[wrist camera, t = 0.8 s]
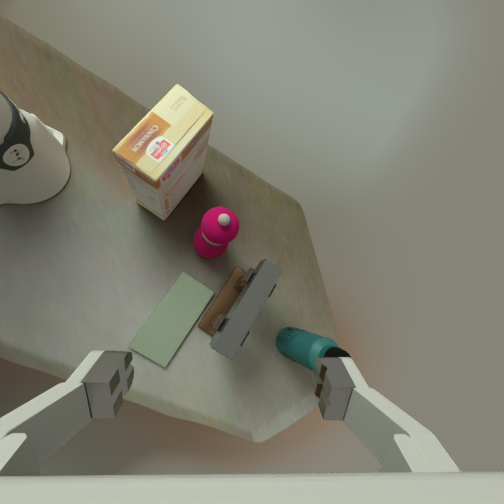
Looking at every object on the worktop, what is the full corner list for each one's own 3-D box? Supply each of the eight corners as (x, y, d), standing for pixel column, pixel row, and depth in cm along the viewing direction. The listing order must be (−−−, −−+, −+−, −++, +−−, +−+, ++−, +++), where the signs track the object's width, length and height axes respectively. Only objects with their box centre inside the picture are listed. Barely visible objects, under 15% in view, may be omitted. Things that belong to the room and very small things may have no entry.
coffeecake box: (177, 153, 53) (176, 81, 35) (203, 172, 55) (216, 112, 36) (134, 202, 49) (108, 148, 31) (164, 222, 50) (156, 181, 32)
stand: (197, 325, 49) (205, 338, 35) (236, 266, 53) (255, 258, 40) (221, 340, 50) (237, 358, 36) (257, 281, 54) (283, 277, 41)
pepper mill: (207, 222, 53) (224, 184, 34) (230, 244, 54) (258, 219, 35) (184, 244, 51) (188, 216, 32) (208, 267, 51) (226, 253, 32)
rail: (209, 343, 36) (211, 348, 34) (260, 260, 41) (266, 258, 38) (227, 355, 37) (231, 360, 34) (276, 271, 42) (283, 270, 39)
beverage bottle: (279, 360, 53) (336, 398, 34) (267, 333, 53) (317, 355, 34) (302, 345, 55) (367, 373, 36) (291, 319, 55) (349, 333, 36)
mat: (129, 345, 44) (128, 346, 44) (182, 271, 49) (183, 271, 49) (165, 366, 46) (165, 367, 45) (214, 292, 51) (214, 292, 50)
